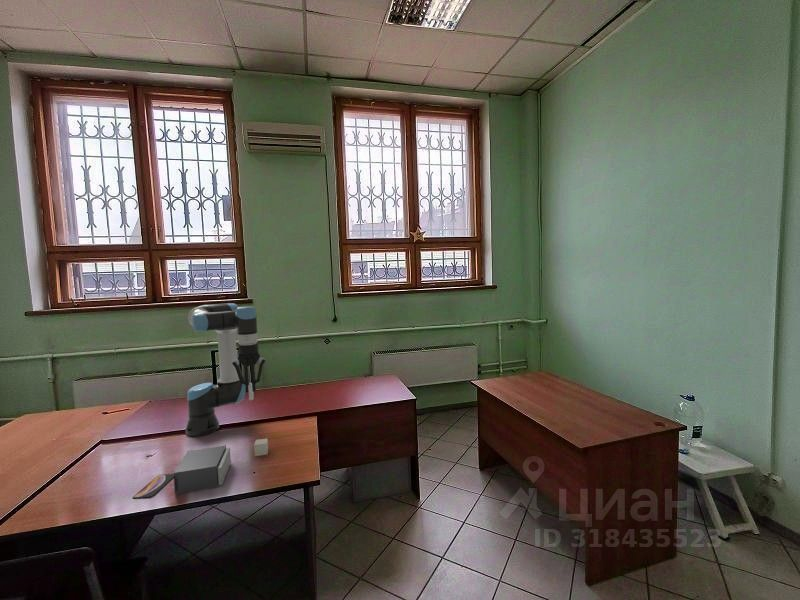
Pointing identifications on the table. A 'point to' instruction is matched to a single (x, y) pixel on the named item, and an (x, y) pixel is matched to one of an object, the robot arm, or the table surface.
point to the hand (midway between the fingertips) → (251, 399)
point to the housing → (198, 470)
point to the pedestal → (261, 447)
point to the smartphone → (154, 486)
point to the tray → (224, 466)
